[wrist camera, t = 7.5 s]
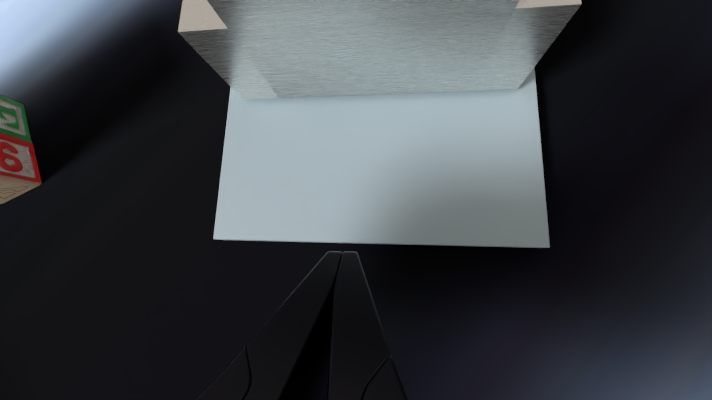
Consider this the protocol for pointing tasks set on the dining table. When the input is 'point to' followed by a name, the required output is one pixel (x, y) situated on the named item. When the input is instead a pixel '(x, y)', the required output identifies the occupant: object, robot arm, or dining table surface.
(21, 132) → the stack of blocks
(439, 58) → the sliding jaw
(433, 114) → the pale blue base plate
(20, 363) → the dining table surface
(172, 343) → the dining table surface
